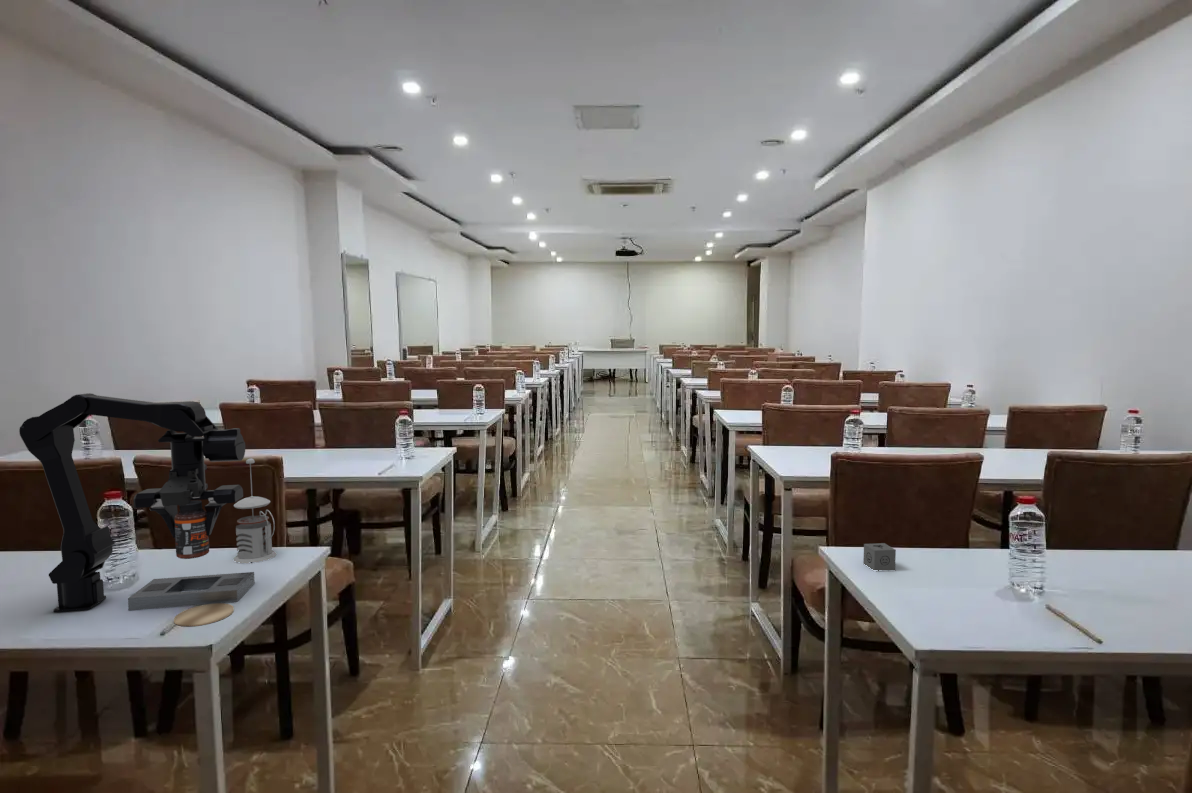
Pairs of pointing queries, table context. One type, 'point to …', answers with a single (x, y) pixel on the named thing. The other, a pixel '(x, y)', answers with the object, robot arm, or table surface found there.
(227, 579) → the grey compartment tray
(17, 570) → the table surface
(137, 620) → the table surface
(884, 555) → the dice cube
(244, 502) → the french press
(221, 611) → the cork coaster
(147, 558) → the table surface
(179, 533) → the supplement bottle
